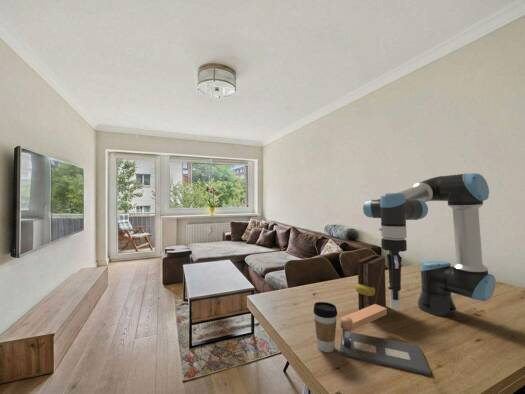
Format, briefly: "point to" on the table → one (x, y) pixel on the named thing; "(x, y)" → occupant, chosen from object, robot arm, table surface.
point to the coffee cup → (325, 325)
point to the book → (371, 281)
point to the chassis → (383, 352)
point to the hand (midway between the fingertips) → (395, 308)
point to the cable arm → (362, 317)
